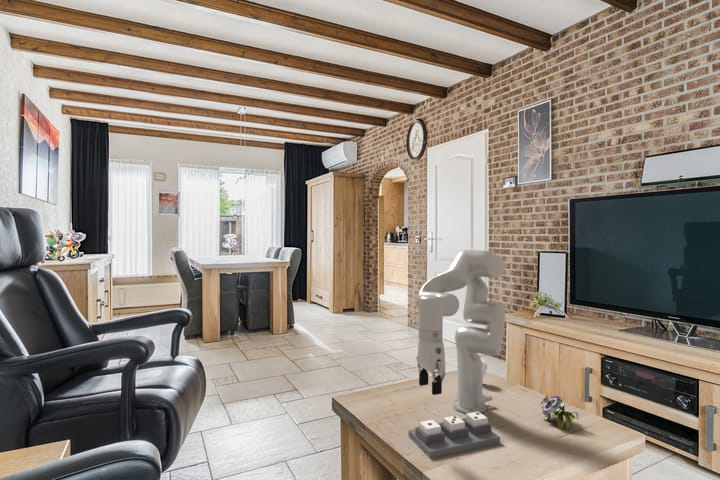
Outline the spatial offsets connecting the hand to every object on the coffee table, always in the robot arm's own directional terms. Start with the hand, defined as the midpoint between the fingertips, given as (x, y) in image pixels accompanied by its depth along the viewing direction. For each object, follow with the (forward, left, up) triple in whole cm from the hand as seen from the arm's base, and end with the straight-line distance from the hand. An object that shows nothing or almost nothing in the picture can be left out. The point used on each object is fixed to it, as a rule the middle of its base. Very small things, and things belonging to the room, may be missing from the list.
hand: (430, 389), depth 127 cm
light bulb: (-49, -39, -18) cm, 65 cm away
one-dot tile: (0, 0, -14) cm, 14 cm away
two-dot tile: (-18, 0, -14) cm, 23 cm away
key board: (-9, 0, -18) cm, 20 cm away
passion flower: (-52, +2, -18) cm, 55 cm away
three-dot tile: (-9, 0, -14) cm, 17 cm away
